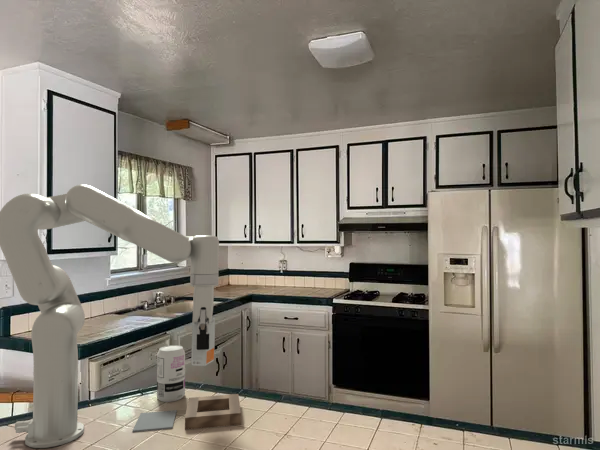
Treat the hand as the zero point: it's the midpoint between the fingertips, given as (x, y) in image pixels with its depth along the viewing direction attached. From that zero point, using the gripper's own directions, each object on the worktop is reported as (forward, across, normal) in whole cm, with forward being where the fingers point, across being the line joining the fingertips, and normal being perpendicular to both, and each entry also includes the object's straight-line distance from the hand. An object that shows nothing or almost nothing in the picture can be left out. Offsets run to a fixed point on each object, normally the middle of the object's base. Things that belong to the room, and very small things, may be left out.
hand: (203, 345), depth 114 cm
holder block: (+19, 0, +3) cm, 19 cm away
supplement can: (+20, -17, -10) cm, 28 cm away
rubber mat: (+19, 0, -12) cm, 23 cm away
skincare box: (+5, 0, 0) cm, 5 cm away
